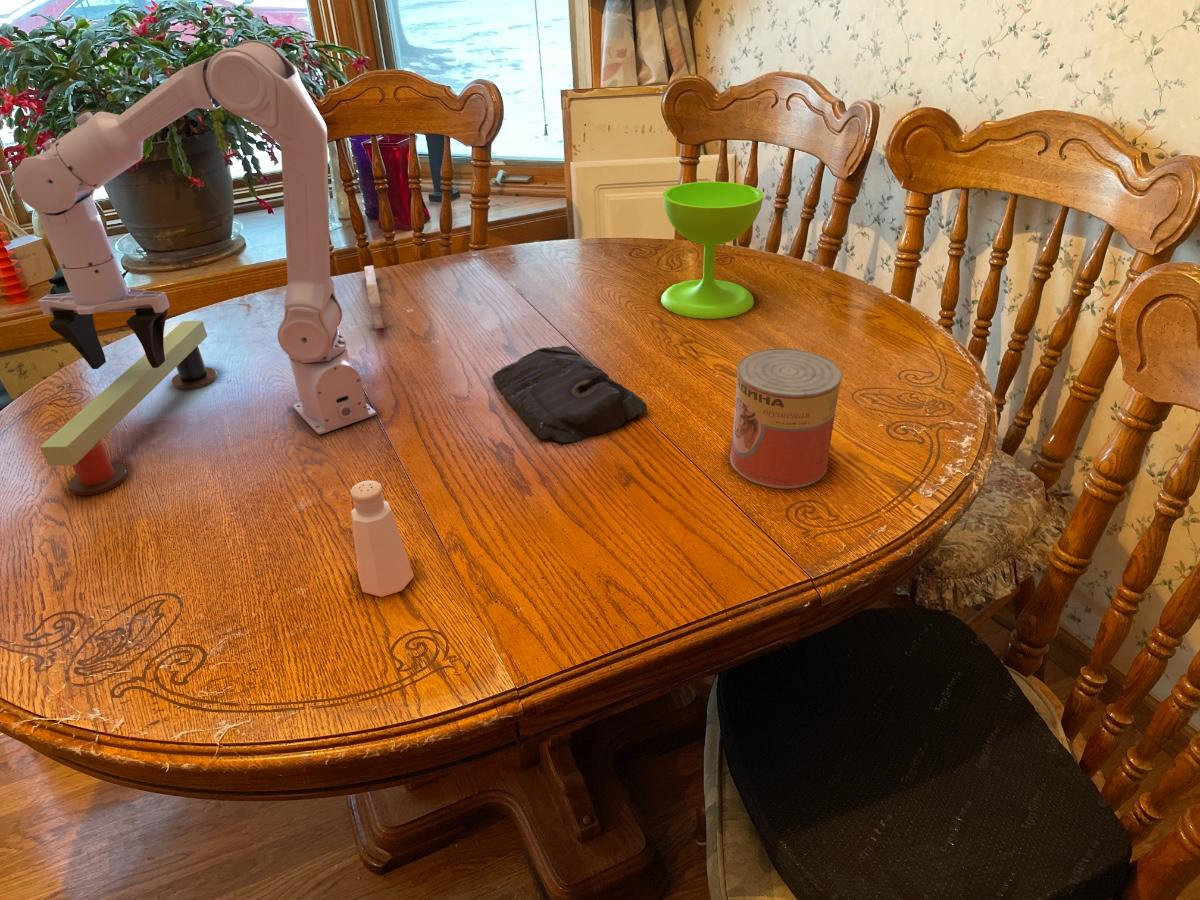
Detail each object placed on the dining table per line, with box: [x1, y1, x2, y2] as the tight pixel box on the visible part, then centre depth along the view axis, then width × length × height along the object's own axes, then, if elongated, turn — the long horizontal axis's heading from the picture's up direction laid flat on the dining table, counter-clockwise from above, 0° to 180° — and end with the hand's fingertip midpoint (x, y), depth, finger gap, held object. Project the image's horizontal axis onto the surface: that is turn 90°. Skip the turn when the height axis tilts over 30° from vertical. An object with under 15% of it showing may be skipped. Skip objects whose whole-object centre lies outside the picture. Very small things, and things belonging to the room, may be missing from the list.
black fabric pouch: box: [491, 345, 648, 445], centre depth 105 cm, size 15×22×5 cm
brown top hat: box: [171, 345, 218, 391], centre depth 112 cm, size 6×6×5 cm
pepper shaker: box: [349, 479, 415, 598], centre depth 74 cm, size 5×5×11 cm
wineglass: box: [660, 181, 764, 320], centre depth 129 cm, size 16×16×18 cm
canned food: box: [729, 348, 843, 490], centre depth 89 cm, size 11×11×12 cm
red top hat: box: [68, 439, 128, 497], centre depth 91 cm, size 6×6×5 cm
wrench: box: [363, 264, 386, 330], centre depth 134 cm, size 8×2×30 cm
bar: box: [39, 320, 208, 467], centre depth 100 cm, size 34×3×2 cm, turn 0°
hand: (129, 365), depth 98 cm, fingers open, 7 cm apart
